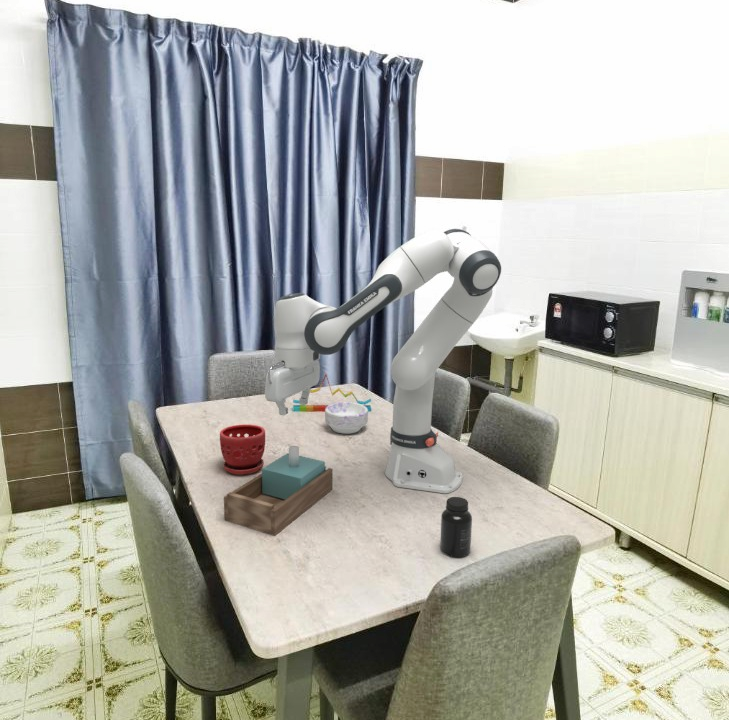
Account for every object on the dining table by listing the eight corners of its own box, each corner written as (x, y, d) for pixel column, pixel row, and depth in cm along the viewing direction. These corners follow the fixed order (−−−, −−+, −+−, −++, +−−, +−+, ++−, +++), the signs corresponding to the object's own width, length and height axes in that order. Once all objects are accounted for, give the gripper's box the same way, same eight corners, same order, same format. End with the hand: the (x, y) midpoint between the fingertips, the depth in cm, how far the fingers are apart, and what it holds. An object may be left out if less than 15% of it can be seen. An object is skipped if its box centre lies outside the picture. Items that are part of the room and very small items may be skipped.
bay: (332, 489, 156) (332, 465, 154) (275, 535, 132) (274, 507, 131) (286, 478, 162) (286, 454, 161) (224, 520, 139) (223, 493, 137)
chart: (370, 409, 225) (371, 373, 222) (370, 412, 222) (371, 375, 219) (293, 409, 223) (293, 372, 219) (293, 412, 220) (292, 375, 216)
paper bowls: (352, 440, 192) (353, 418, 190) (316, 431, 199) (316, 409, 198) (375, 427, 204) (376, 406, 203) (340, 419, 212) (340, 399, 210)
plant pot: (274, 469, 168) (274, 430, 165) (236, 482, 159) (235, 442, 156) (250, 455, 177) (249, 419, 174) (212, 467, 168) (210, 429, 166)
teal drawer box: (325, 485, 155) (325, 444, 152) (301, 503, 144) (301, 460, 141) (288, 475, 160) (287, 435, 157) (262, 493, 149) (261, 450, 147)
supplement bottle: (466, 541, 132) (469, 494, 129) (473, 558, 125) (476, 509, 122) (437, 541, 131) (440, 494, 129) (442, 558, 125) (445, 508, 122)
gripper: (279, 367, 133) (280, 423, 136) (323, 351, 151) (324, 400, 154) (257, 364, 136) (259, 419, 139) (303, 348, 154) (304, 397, 157)
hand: (293, 409), depth 147 cm, fingers open, 8 cm apart
